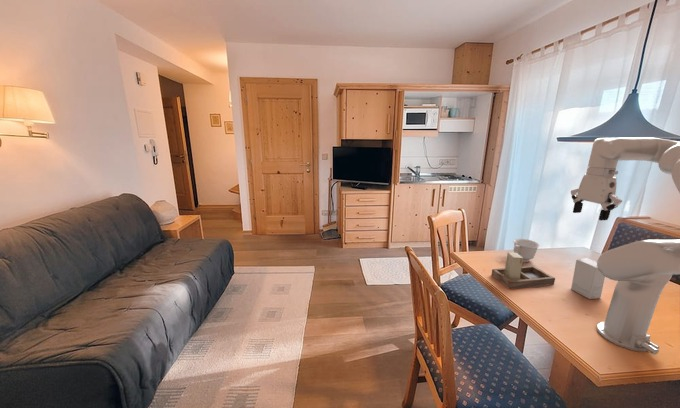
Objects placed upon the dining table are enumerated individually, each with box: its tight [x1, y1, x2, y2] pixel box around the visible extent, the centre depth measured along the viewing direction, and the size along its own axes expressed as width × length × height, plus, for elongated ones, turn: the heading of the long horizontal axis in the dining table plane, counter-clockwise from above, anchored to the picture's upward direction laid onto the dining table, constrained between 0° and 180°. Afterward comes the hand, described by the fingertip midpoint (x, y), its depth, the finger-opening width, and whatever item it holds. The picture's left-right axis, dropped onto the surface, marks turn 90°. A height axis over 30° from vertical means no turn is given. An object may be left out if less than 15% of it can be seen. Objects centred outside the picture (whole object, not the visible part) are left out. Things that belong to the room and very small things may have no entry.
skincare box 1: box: [504, 251, 524, 281], centre depth 124 cm, size 6×4×12 cm
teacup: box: [512, 238, 541, 263], centre depth 144 cm, size 12×15×10 cm
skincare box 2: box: [570, 257, 606, 300], centre depth 113 cm, size 8×6×15 cm
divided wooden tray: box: [491, 265, 556, 290], centre depth 126 cm, size 12×23×3 cm, turn 98°
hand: (589, 216), depth 103 cm, fingers open, 9 cm apart
